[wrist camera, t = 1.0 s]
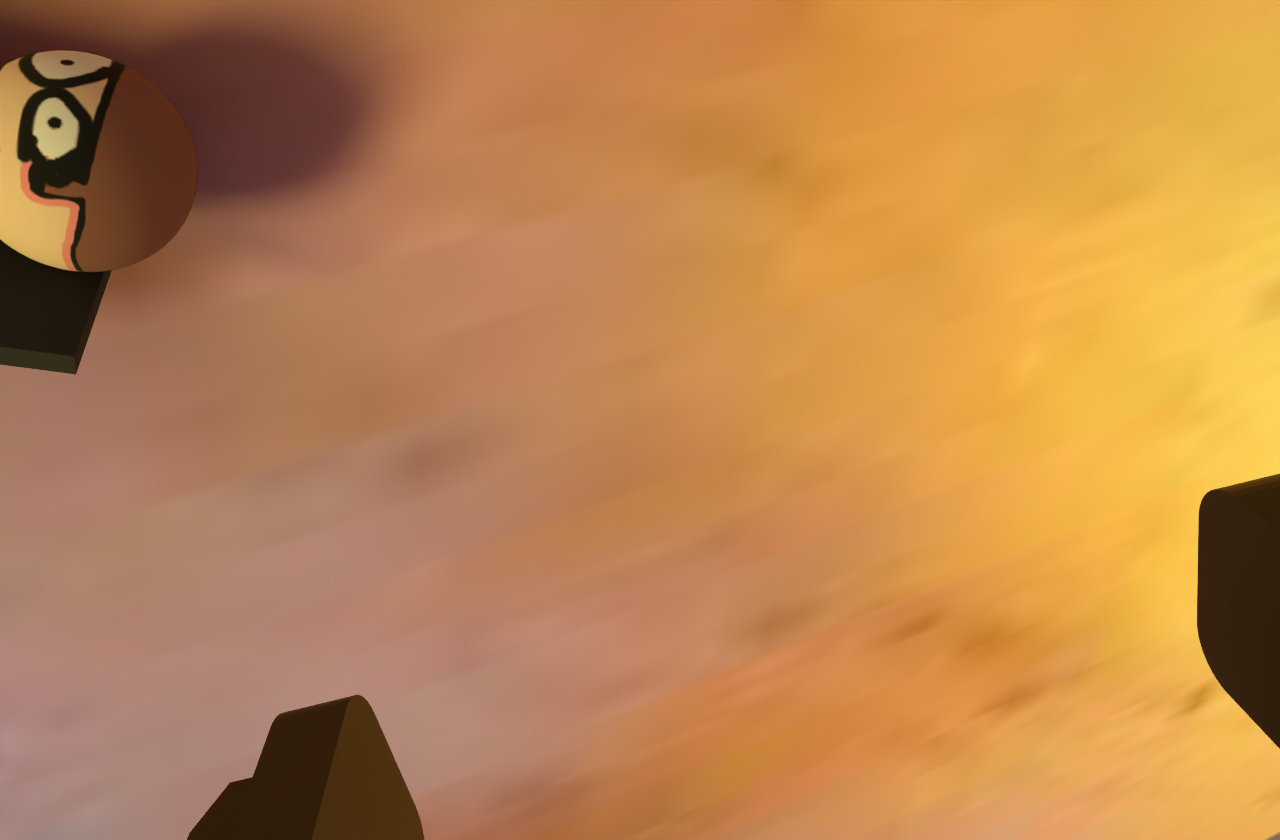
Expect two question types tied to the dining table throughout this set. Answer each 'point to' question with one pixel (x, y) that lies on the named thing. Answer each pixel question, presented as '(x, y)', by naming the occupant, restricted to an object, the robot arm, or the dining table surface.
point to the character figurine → (80, 195)
